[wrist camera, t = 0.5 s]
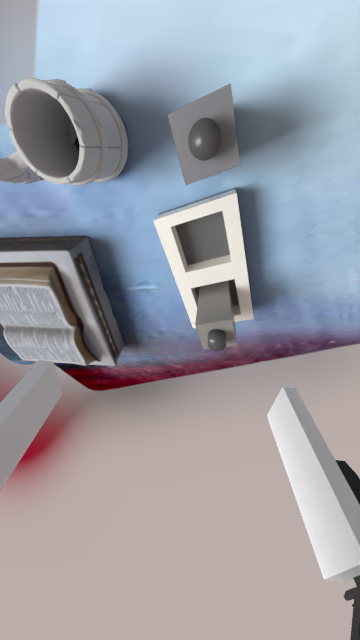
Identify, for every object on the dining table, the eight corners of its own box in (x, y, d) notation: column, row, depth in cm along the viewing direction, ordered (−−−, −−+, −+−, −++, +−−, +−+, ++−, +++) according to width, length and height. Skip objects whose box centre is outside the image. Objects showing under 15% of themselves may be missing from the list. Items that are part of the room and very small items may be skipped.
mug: (143, 163, 25) (101, 171, 16) (71, 203, 29) (3, 229, 20) (106, 74, 21) (19, 14, 11) (27, 136, 25) (-84, 129, 15)
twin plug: (227, 278, 32) (232, 328, 23) (232, 301, 34) (238, 354, 25) (199, 284, 33) (194, 334, 24) (206, 306, 36) (203, 358, 27)
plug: (225, 107, 21) (232, 77, 12) (232, 159, 23) (242, 166, 15) (184, 126, 22) (163, 111, 13) (195, 173, 25) (183, 188, 16)
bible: (31, 336, 50) (-2, 369, 42) (-29, 214, 32) (-103, 234, 25) (126, 354, 49) (110, 391, 42) (118, 240, 32) (87, 268, 24)
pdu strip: (234, 188, 25) (237, 193, 22) (250, 306, 35) (254, 322, 32) (159, 213, 28) (151, 222, 25) (194, 315, 38) (192, 331, 35)
